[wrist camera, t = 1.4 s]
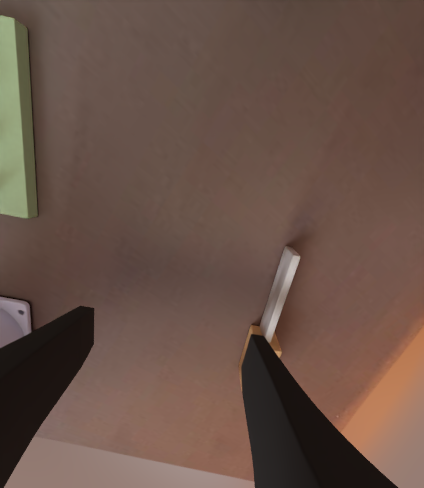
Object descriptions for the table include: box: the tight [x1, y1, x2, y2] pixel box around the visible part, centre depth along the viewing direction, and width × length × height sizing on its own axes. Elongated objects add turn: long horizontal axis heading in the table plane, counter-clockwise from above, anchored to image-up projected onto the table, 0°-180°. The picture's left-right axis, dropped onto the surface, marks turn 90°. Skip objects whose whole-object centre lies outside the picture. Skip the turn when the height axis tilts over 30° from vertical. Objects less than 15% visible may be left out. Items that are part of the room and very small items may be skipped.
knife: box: [239, 246, 301, 391], centre depth 19 cm, size 13×2×3 cm, turn 169°
